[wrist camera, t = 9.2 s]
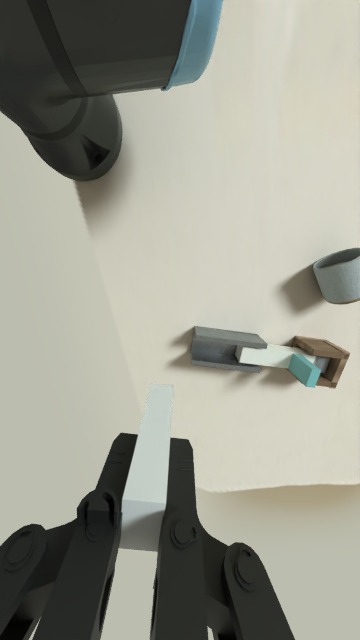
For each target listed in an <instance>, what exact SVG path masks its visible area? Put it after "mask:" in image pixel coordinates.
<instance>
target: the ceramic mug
mask: <svg viewBox="0 0 360 640" xmlns="http://www.w3.org/2000/svg"><path fill="white" fill-rule="evenodd" d="M313 270H314V273H315V275H316V278H317V281H318V284H319V286H320V289H321V292H322V295H323V297H324V298H325V300H326V301H327V302H329V303H332V304H349V303H353V302H357V301H359V300H360V248H352V249H347V250H343V251H339V252H336V253H333V254H331V255H329V256H326V257H324V258H322V259H320V260H319V261H317V262H316V263H315V264H314V265H313Z"/></svg>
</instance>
